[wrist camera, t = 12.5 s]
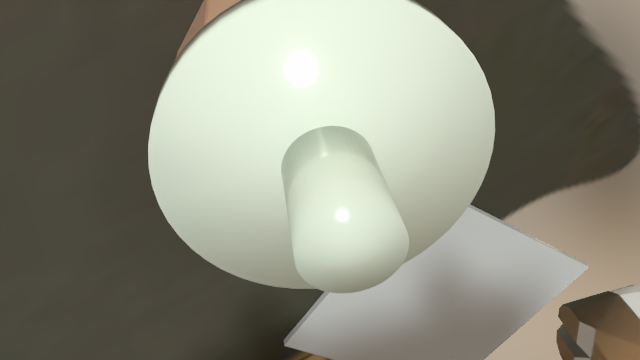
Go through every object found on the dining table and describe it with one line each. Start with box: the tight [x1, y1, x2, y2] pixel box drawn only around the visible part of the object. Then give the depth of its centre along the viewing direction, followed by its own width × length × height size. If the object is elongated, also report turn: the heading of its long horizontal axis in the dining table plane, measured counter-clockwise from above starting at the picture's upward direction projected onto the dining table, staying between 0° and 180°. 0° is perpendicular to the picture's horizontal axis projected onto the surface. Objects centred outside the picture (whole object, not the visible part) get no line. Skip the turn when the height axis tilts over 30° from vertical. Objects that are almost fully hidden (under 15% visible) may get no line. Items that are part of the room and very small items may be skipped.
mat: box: [284, 205, 589, 360], centre depth 31 cm, size 13×13×1 cm
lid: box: [148, 0, 495, 293], centre depth 15 cm, size 11×11×5 cm
